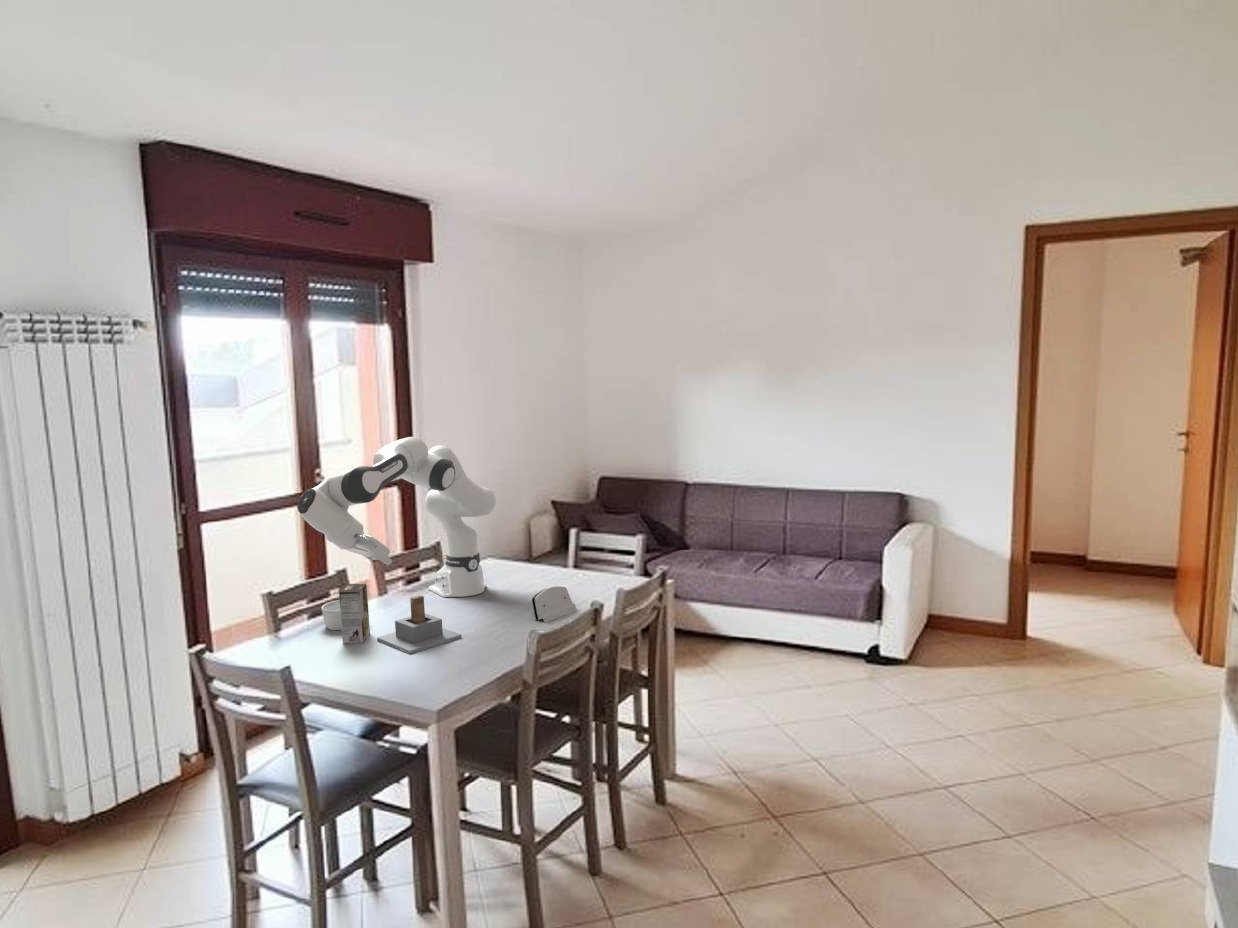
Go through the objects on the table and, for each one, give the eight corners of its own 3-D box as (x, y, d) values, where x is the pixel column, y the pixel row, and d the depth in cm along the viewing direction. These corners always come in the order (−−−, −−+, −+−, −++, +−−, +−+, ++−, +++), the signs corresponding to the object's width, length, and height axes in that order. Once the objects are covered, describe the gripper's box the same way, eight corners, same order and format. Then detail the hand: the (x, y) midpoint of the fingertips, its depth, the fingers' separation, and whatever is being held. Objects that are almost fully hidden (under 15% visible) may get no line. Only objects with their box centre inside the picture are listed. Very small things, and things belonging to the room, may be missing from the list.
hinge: (544, 622, 251) (535, 592, 252) (534, 625, 254) (525, 595, 255) (577, 609, 265) (568, 580, 266) (567, 611, 268) (559, 583, 268)
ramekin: (374, 622, 257) (373, 601, 256) (343, 634, 246) (342, 612, 245) (345, 617, 263) (344, 596, 262) (313, 629, 252) (312, 607, 251)
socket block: (377, 640, 239) (376, 621, 238) (428, 625, 252) (427, 607, 251) (409, 654, 226) (408, 633, 226) (461, 637, 240) (460, 618, 239)
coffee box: (349, 634, 246) (346, 583, 244) (370, 632, 246) (367, 582, 244) (341, 644, 237) (338, 591, 235) (363, 642, 237) (360, 590, 235)
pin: (409, 636, 239) (407, 597, 238) (421, 632, 242) (418, 594, 240) (417, 638, 236) (414, 600, 235) (428, 635, 239) (426, 597, 238)
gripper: (373, 528, 214) (407, 556, 222) (336, 519, 228) (369, 546, 236) (359, 547, 211) (393, 575, 219) (322, 537, 225) (356, 564, 233)
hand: (380, 560), depth 228 cm, fingers open, 8 cm apart
